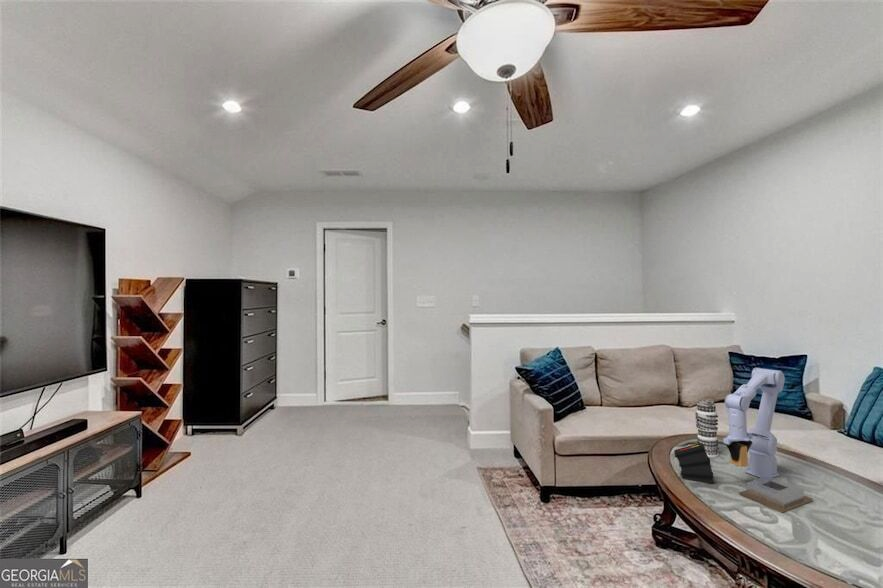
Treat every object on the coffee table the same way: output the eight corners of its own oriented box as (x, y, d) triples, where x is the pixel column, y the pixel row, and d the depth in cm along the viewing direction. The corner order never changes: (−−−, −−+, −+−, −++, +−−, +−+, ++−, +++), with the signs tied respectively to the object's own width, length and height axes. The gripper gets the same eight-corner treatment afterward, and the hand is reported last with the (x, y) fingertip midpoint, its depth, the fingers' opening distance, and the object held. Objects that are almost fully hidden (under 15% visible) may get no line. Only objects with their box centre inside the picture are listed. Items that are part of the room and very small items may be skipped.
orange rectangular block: (737, 462, 166) (736, 442, 166) (747, 466, 162) (747, 445, 162) (730, 464, 164) (729, 444, 164) (741, 468, 161) (740, 447, 161)
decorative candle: (721, 452, 194) (719, 400, 194) (717, 459, 187) (715, 404, 187) (698, 448, 200) (697, 397, 200) (694, 454, 193) (692, 401, 193)
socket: (769, 485, 161) (768, 473, 161) (812, 501, 148) (812, 488, 148) (739, 495, 155) (739, 483, 155) (782, 512, 142) (781, 499, 142)
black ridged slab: (722, 482, 162) (702, 445, 165) (688, 489, 168) (668, 454, 171) (722, 478, 165) (701, 442, 168) (688, 486, 171) (669, 451, 175)
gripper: (736, 430, 157) (737, 466, 157) (760, 425, 162) (761, 459, 162) (717, 425, 163) (718, 459, 163) (741, 420, 169) (742, 453, 169)
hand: (738, 459), depth 163 cm, fingers closed on orange rectangular block, 4 cm apart
